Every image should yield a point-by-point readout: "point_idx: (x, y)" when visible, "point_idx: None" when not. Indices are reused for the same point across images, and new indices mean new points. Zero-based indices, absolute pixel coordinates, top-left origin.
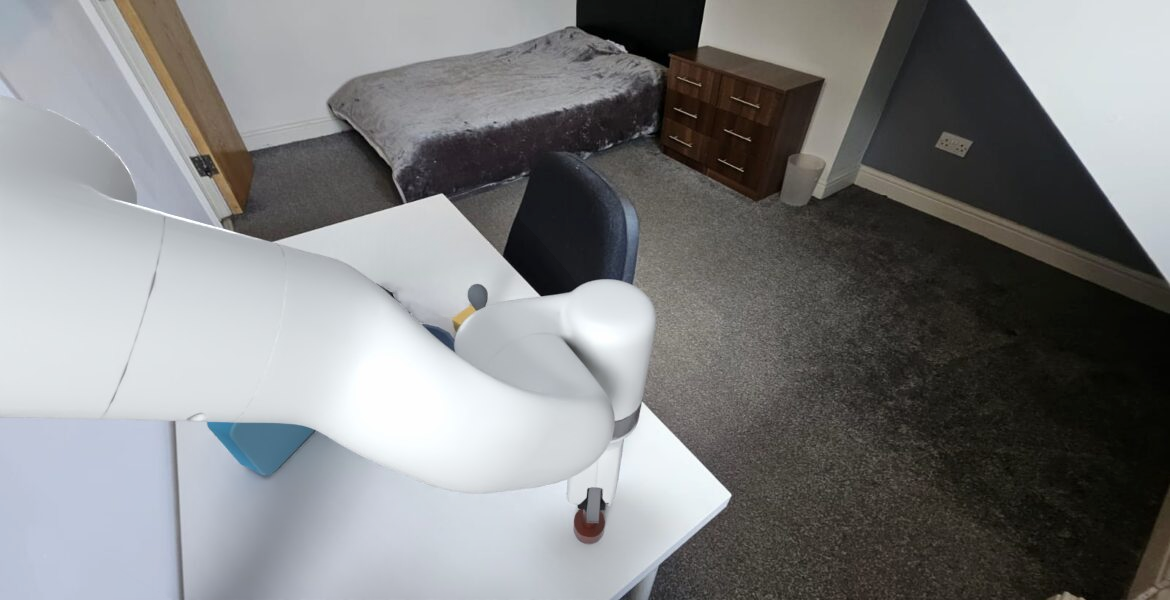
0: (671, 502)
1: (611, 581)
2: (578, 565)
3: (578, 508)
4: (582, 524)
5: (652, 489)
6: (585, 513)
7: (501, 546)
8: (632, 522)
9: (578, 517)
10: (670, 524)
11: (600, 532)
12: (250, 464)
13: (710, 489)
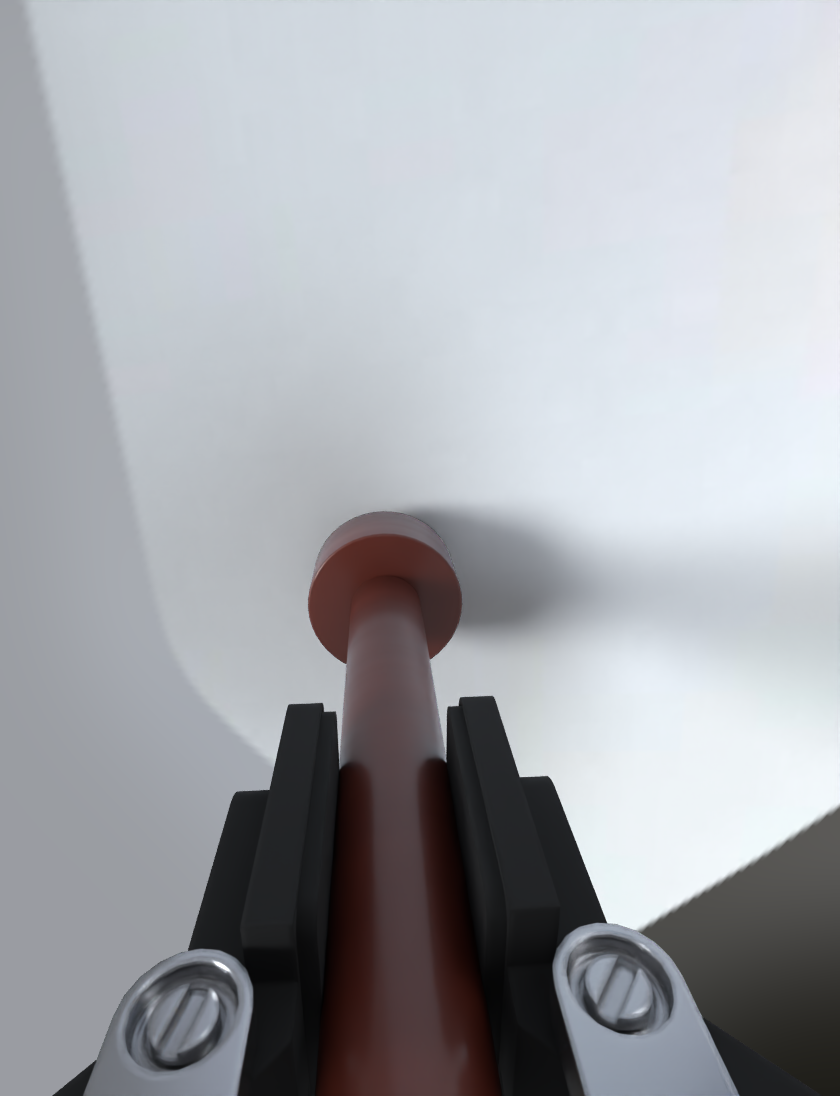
0: None
1: (201, 661)
2: (239, 535)
3: (288, 707)
4: (366, 577)
5: (567, 793)
6: (355, 655)
7: (269, 142)
8: None
9: (400, 555)
10: None
11: (338, 657)
12: None
13: None
